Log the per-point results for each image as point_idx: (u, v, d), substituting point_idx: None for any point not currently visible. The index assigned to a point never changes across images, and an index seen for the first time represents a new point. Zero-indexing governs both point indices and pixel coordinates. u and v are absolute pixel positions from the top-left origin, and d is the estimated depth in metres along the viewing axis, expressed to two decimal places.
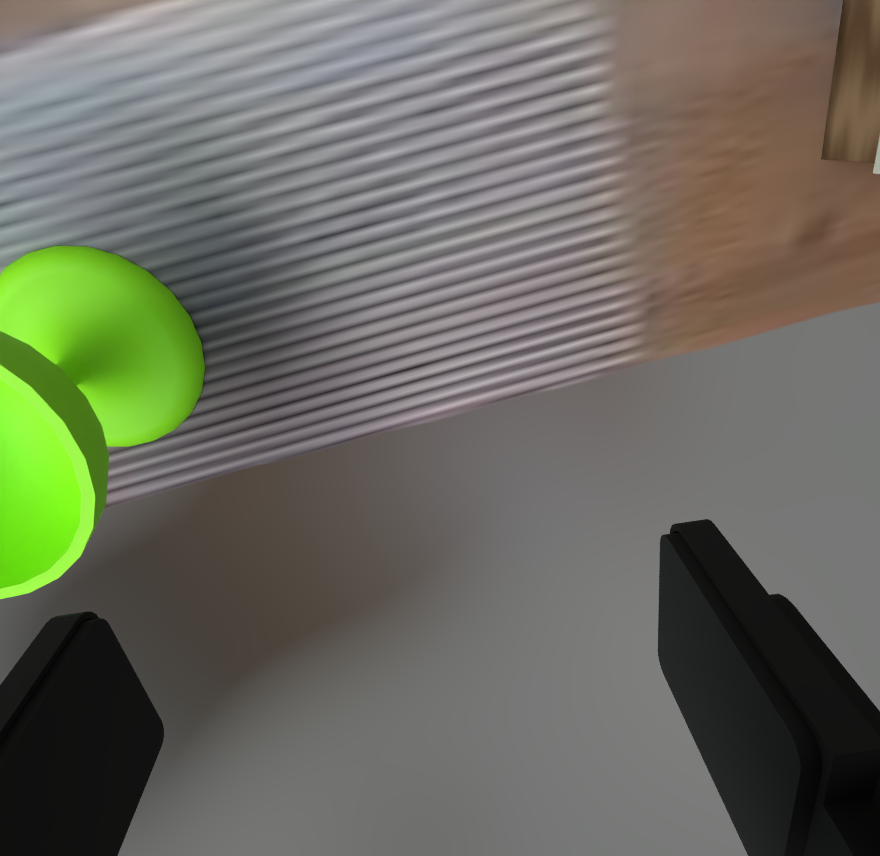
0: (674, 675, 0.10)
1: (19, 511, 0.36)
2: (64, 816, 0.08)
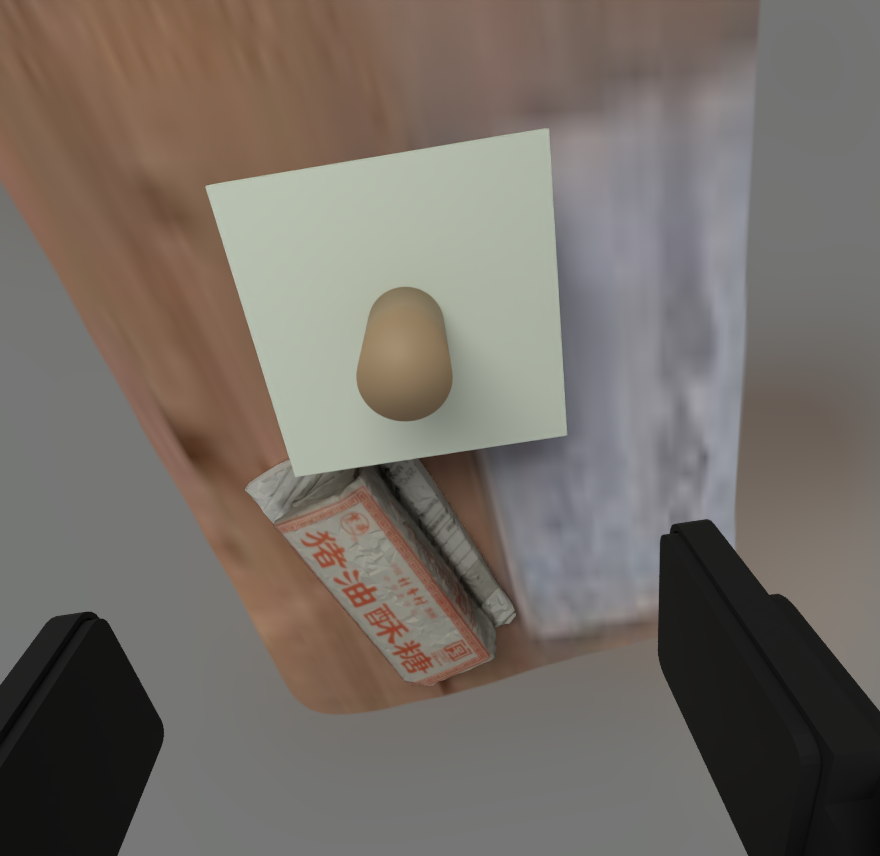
0: (674, 675, 0.10)
1: None
2: (64, 816, 0.08)
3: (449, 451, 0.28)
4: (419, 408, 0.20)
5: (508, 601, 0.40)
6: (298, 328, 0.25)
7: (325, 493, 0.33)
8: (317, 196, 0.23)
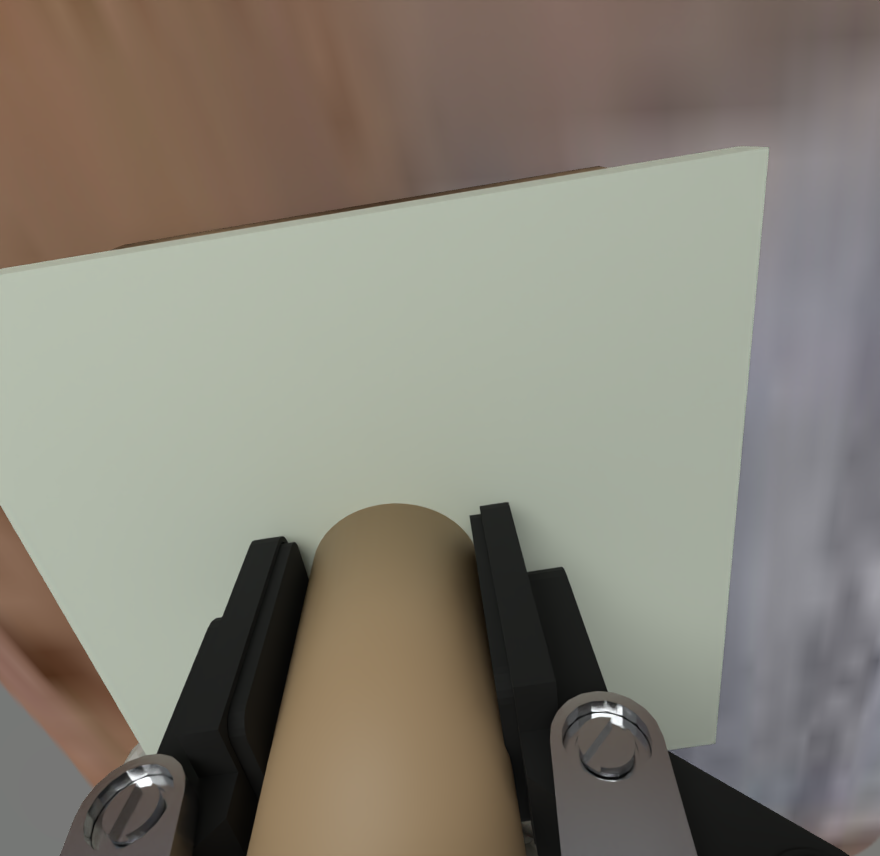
0: None
1: None
2: None
3: None
4: None
5: None
6: (158, 584, 0.11)
7: None
8: (171, 316, 0.09)
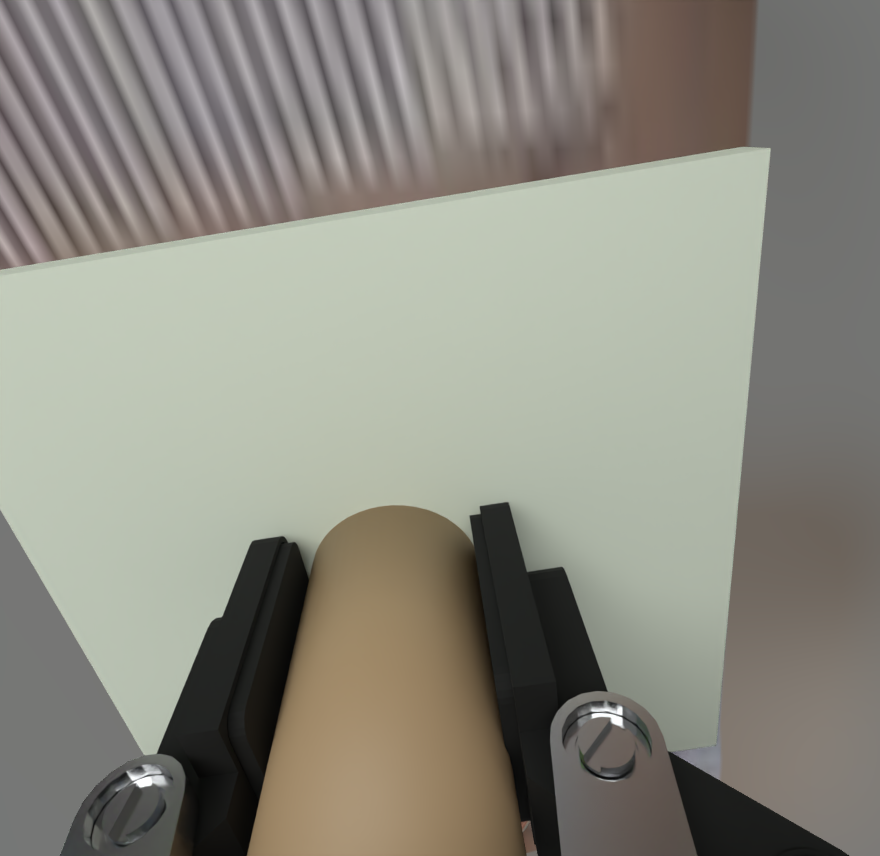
0: None
1: None
2: None
3: None
4: None
5: None
6: (157, 586, 0.11)
7: None
8: (170, 318, 0.09)
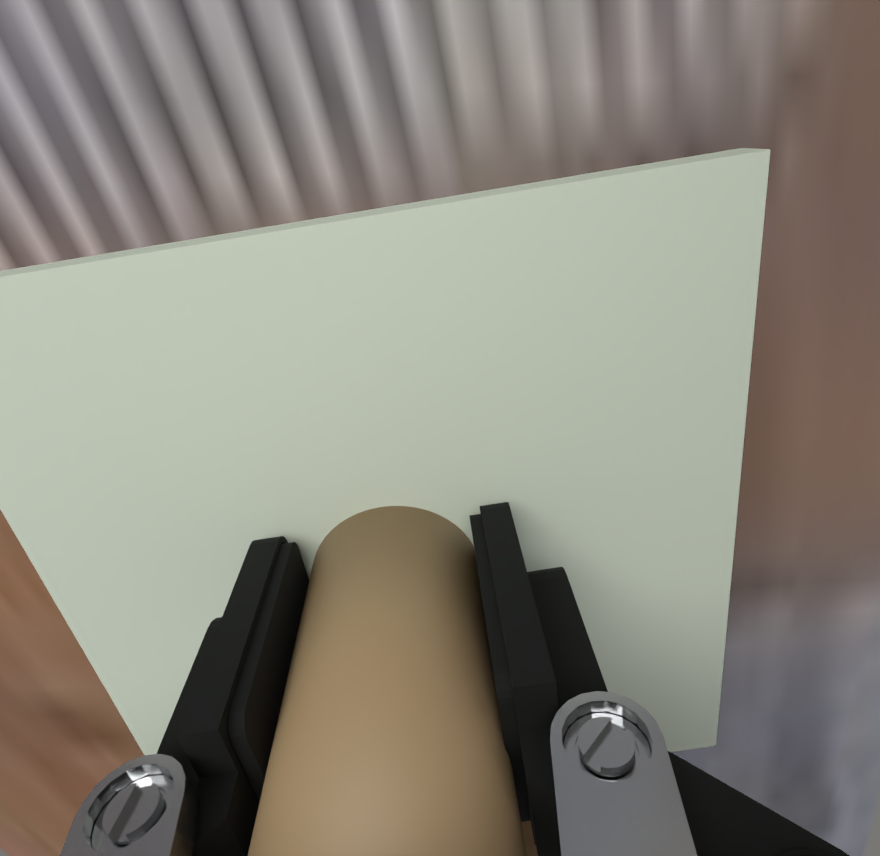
0: None
1: None
2: None
3: None
4: None
5: None
6: (157, 587, 0.11)
7: None
8: (171, 319, 0.09)
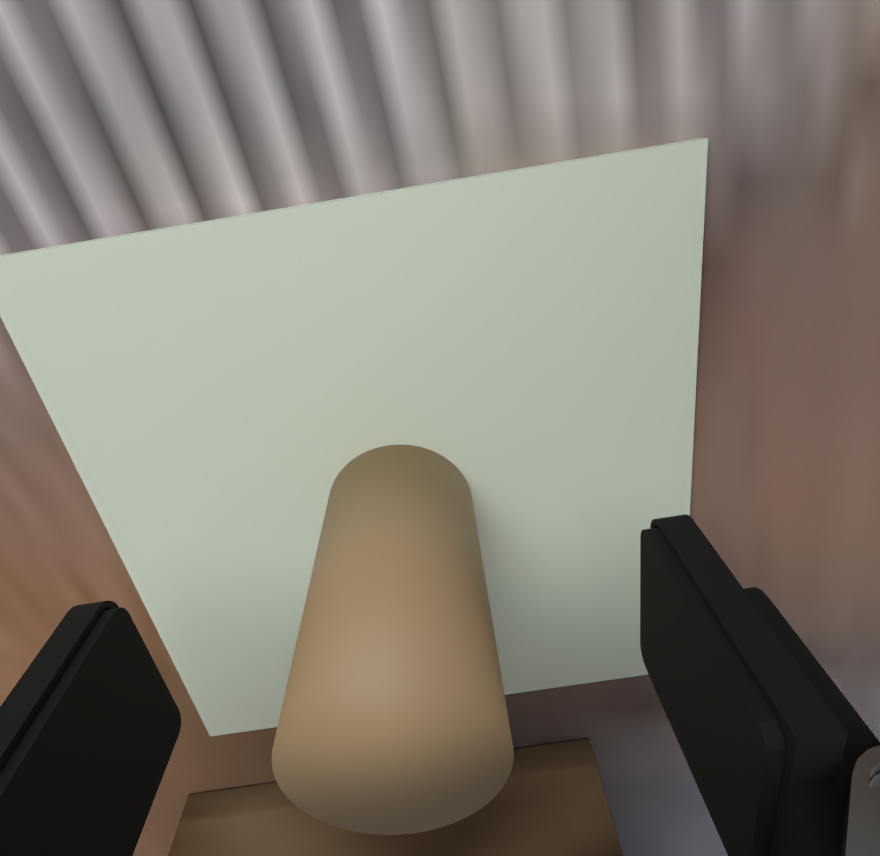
0: (655, 668, 0.10)
1: None
2: (88, 799, 0.08)
3: None
4: (430, 812, 0.08)
5: None
6: (195, 516, 0.13)
7: None
8: (214, 280, 0.11)
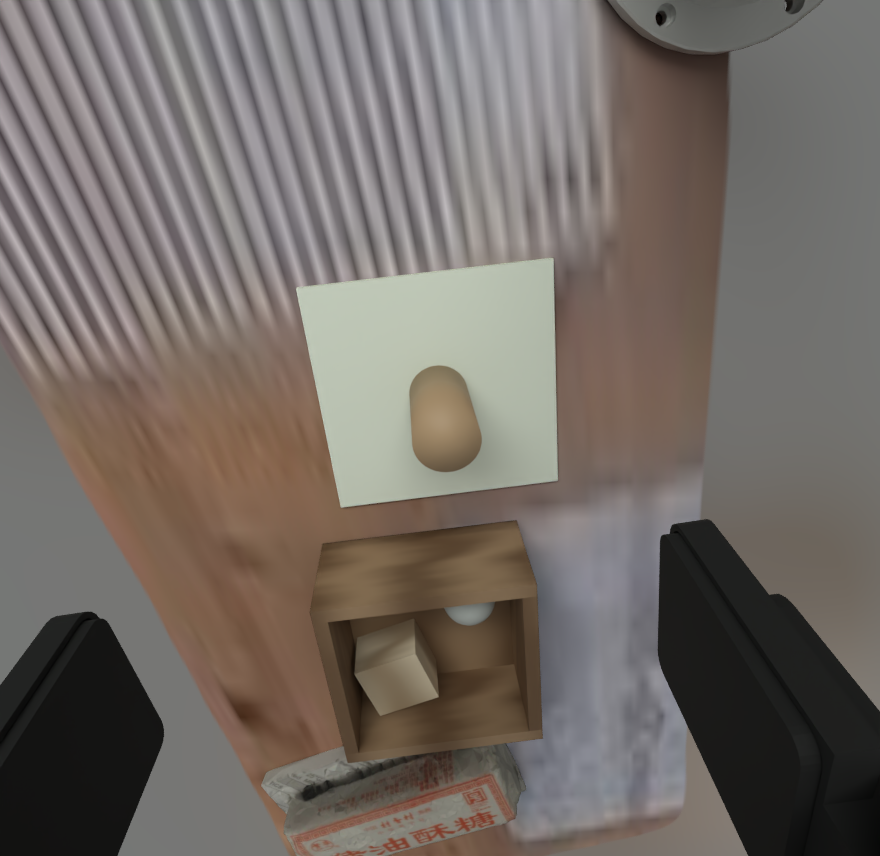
0: (674, 675, 0.10)
1: None
2: (64, 816, 0.08)
3: (465, 490, 0.35)
4: (455, 463, 0.28)
5: None
6: (355, 393, 0.32)
7: None
8: (379, 298, 0.30)
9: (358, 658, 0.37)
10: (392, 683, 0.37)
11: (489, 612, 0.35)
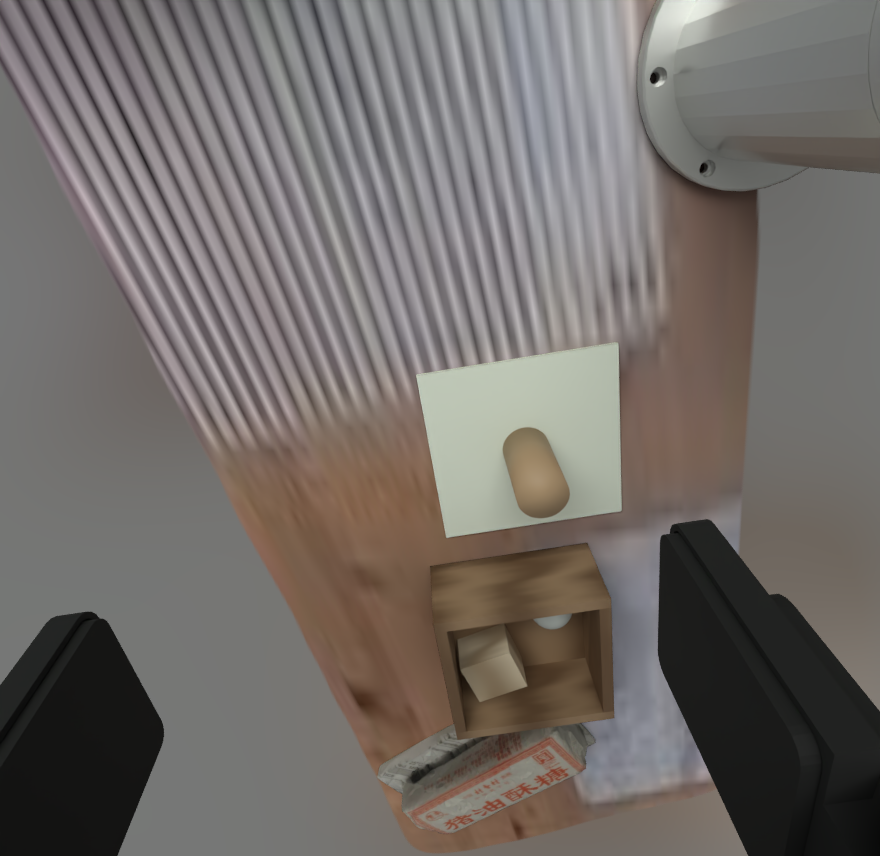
0: (674, 675, 0.10)
1: None
2: (64, 816, 0.08)
3: (546, 521, 0.44)
4: (549, 511, 0.36)
5: None
6: (460, 451, 0.41)
7: None
8: (480, 380, 0.38)
9: (461, 656, 0.46)
10: (490, 675, 0.45)
11: (569, 618, 0.44)
